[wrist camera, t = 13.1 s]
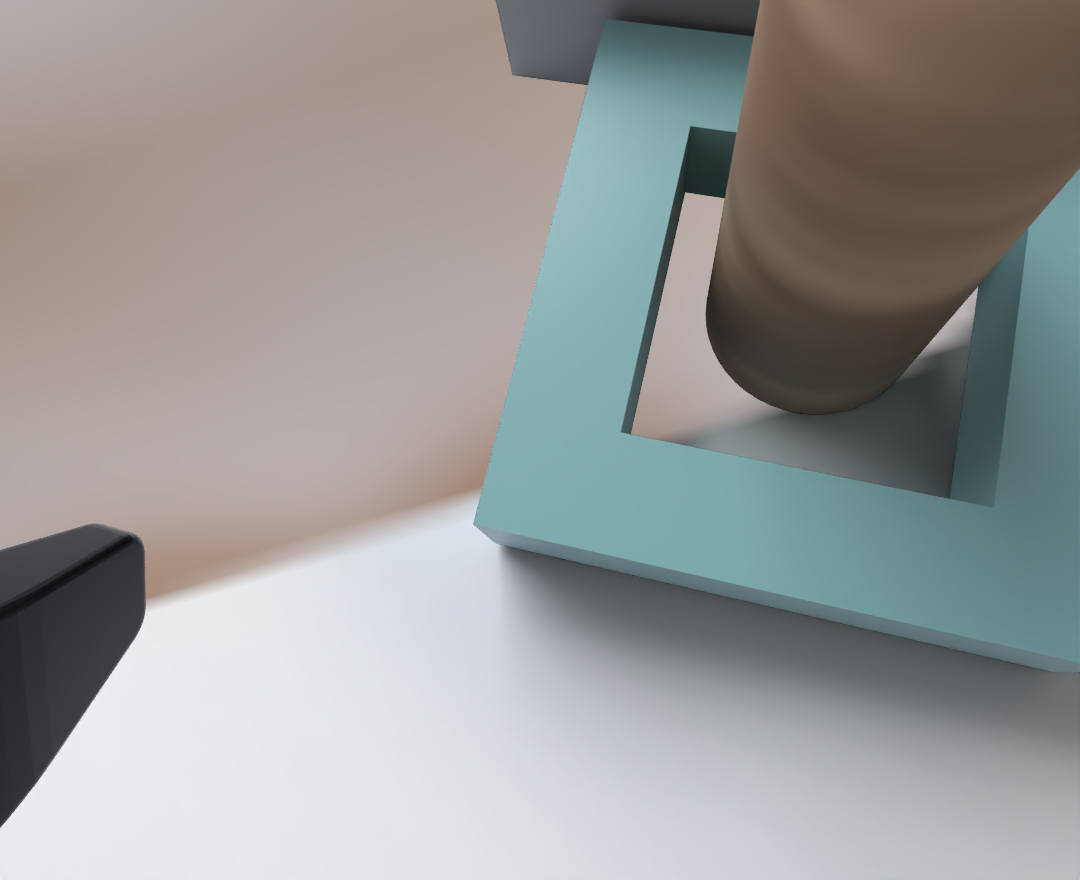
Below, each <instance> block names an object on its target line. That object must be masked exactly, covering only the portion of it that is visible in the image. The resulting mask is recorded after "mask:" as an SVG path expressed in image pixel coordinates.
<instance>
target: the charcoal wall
mask: <svg viewBox="0 0 1080 880" xmlns="http://www.w3.org/2000/svg"><path fill="white" fill-rule="evenodd" d="M496 3H497V8H498V12H499V16H500V21H501V25H502V30H503V34H504V39H505V43H506V48H507V52H508V57H509V61H510V65H511V69H512V74H513V75H516V76H523V77H531V78H539V79H546V80H553V81H561V82H569V83H576V84H584V85H588V83H589V79H590V75H591V71H592V68H593V64H594V60H595V56H596V52H597V48H598V45H599V41H600V37H601V33H602V29H603V25H604V22H605V19H610V20H618V21H627V22H635V23H644V24H652V25H660V26H669V27H677V28H686V29H694V30H703V31H711V32H719V33H728V34H736V35H745V36H753V37H754V33H755V27H756V21H757V16H758V10H759V4H760V0H496Z"/></svg>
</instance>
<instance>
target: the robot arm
mask: <svg viewBox="0 0 1080 880" xmlns="http://www.w3.org/2000/svg"><path fill="white" fill-rule="evenodd" d="M145 608H146V593H145V550H144V545H143V543H142V540H141V539H140V538H139V537H138V536H137V535H135V534H133V533H130V532H126V531H123V530H120V529H117V528H113V527H110V526H106V525H102V524H90V525H85V526H82V527H78V528H75V529H71V530H68V531H65V532H61V533H58V534H54V535H51V536H47V537H44V538H40V539H37V540H34V541H30V542H27V543H24V544H20V545H17V546H13V547H10V548H6V549H3V550H0V828H1V826H2V825H3V824H4V823H5V822H6V820H7V819H8V818H9V817H10V816H11V814H12V813H13V812H14V811H15V809H16V808H17V807H18V806H19V804H20V803H21V802H22V801H23V799H24V798H25V797H26V796H27V794H28V793H29V792H30V791H31V789H32V788H33V787H34V786H35V784H36V783H37V781H38V780H39V779H40V777H41V776H42V774H43V773H44V772H45V770H46V769H47V767H48V766H49V765H50V763H51V762H52V760H53V759H54V758H55V756H56V755H57V753H58V752H59V750H60V749H61V747H62V746H63V744H64V743H65V741H66V740H67V738H68V737H69V735H70V734H71V732H72V731H73V729H74V728H75V726H76V725H77V723H78V722H79V720H80V719H81V718H82V716H83V715H84V713H85V712H86V710H87V709H88V707H89V706H90V704H91V703H92V701H93V700H94V698H95V697H96V695H97V694H98V692H99V691H100V689H101V688H102V686H103V685H104V683H105V682H106V680H107V679H108V677H109V676H110V674H111V673H112V672H113V670H114V669H115V667H116V666H117V664H118V663H119V661H120V660H121V658H122V657H123V655H124V654H125V652H126V651H127V649H128V648H129V646H130V645H131V643H132V642H133V640H134V639H135V637H136V636H137V634H138V632H139V630H140V628H141V625H142V623H143V620H144V615H145Z"/></svg>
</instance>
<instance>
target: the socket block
mask: <svg viewBox="0 0 1080 880" xmlns="http://www.w3.org/2000/svg"><path fill="white" fill-rule="evenodd" d="M753 38H754V37H753V36H745V35H736V34H728V33H719V32H711V31H703V30H694V29H686V28H677V27H669V26H660V25H652V24H644V23H635V22H627V21H618V20H610V19H605V22H604V25H603V29H602V33H601V37H600V41H599V45H598V48H597V52H596V56H595V60H594V64H593V68H592V71H591V75H590V79H589V83H588V87H587V91H586V94H585V98H584V102H583V106H582V110H581V114H580V118H579V122H578V125H577V129H576V133H575V136H574V140H573V144H572V148H571V152H570V156H569V159H568V163H567V167H566V171H565V175H564V178H563V183H562V186H561V190H560V194H559V198H558V202H557V205H556V209H555V213H554V217H553V221H552V224H551V228H550V232H549V236H548V240H547V244H546V247H545V251H544V255H543V259H542V263H541V267H540V270H539V274H538V278H537V282H536V286H535V290H534V293H533V297H532V301H531V305H530V308H529V313H528V316H527V321H526V324H525V328H524V332H523V335H522V339H521V343H520V347H519V351H518V354H517V358H516V362H515V366H514V370H513V374H512V377H511V381H510V385H509V389H508V393H507V397H506V400H505V404H504V408H503V412H502V416H501V420H500V423H499V427H498V431H497V435H496V439H495V442H494V446H493V450H492V454H491V458H490V461H489V466H488V469H487V473H486V477H485V481H484V484H483V488H482V492H481V496H480V500H479V504H478V507H477V511H476V515H475V519H474V523H473V525H474V526H476V527H477V528H478V529H479V530H480V531H482V532H483V533H484V534H485V535H486V536H488V537H489V538H490V539H491V540H492V541H494V542H495V543H496V544H501V545H505V546H509V547H514V548H518V549H522V550H527V551H531V552H535V553H540V554H544V555H548V556H553V557H557V558H561V559H566V560H570V561H574V562H578V563H583V564H587V565H591V566H596V567H600V568H604V569H609V570H613V571H617V572H622V573H626V574H630V575H635V576H639V577H643V578H648V579H652V580H656V581H661V582H665V583H669V584H674V585H678V586H682V587H687V588H691V589H695V590H700V591H704V592H708V593H713V594H717V595H721V596H726V597H730V598H734V599H739V600H743V601H747V602H752V603H756V604H760V605H765V606H769V607H773V608H778V609H782V610H786V611H791V612H795V613H799V614H804V615H808V616H812V617H817V618H821V619H825V620H830V621H834V622H838V623H843V624H847V625H851V626H856V627H860V628H864V629H869V630H873V631H877V632H882V633H886V634H890V635H895V636H899V637H903V638H908V639H912V640H916V641H921V642H925V643H929V644H934V645H938V646H942V647H947V648H951V649H955V650H960V651H964V652H968V653H973V654H977V655H981V656H986V657H990V658H994V659H999V660H1003V661H1007V662H1012V663H1016V664H1020V665H1025V666H1029V667H1033V668H1038V669H1042V670H1046V671H1051V672H1062V673H1080V169H1079V170H1078V171H1077V172H1076V173H1075V175H1074V176H1073V177H1072V178H1071V179H1070V180H1069V181H1068V183H1067V184H1066V185H1065V186H1064V187H1063V188H1062V190H1061V191H1060V192H1059V193H1058V194H1057V195H1056V197H1055V198H1054V199H1053V200H1052V201H1051V202H1050V203H1049V205H1048V206H1047V207H1046V208H1045V209H1044V210H1043V212H1042V213H1041V214H1040V215H1039V216H1038V217H1037V219H1036V220H1035V221H1034V222H1033V223H1032V224H1031V225H1030V227H1029V228H1028V229H1027V230H1026V231H1025V232H1024V234H1023V235H1022V236H1021V237H1020V238H1019V239H1018V241H1017V242H1016V243H1015V244H1014V245H1013V246H1012V247H1011V249H1010V250H1009V251H1008V252H1007V253H1006V254H1005V256H1004V257H1003V258H1002V259H1001V260H1000V261H999V263H998V264H997V265H996V266H995V267H994V268H993V269H992V271H991V272H990V273H989V274H988V275H987V276H986V278H985V279H984V280H983V281H982V282H981V283H980V285H979V287H978V294H977V301H976V309H975V316H974V323H973V331H972V338H971V346H970V353H969V360H968V368H967V375H966V382H965V390H964V397H963V405H962V412H961V419H960V427H959V434H958V441H957V449H956V456H955V463H954V471H953V478H952V486H951V493H950V499H948V498H943V497H938V496H933V495H928V494H923V493H918V492H913V491H908V490H903V489H898V488H893V487H888V486H883V485H878V484H874V483H869V482H864V481H859V480H854V479H849V478H844V477H839V476H834V475H829V474H824V473H819V472H814V471H809V470H804V469H799V468H794V467H790V466H785V465H780V464H775V463H770V462H765V461H760V460H755V459H750V458H745V457H740V456H735V455H730V454H725V453H720V452H715V451H710V450H706V449H701V448H696V447H691V446H686V445H681V444H676V443H671V442H666V441H661V440H656V439H651V438H646V437H641V436H636V435H631V430H632V425H633V421H634V417H635V412H636V408H637V403H638V399H639V395H640V390H641V386H642V381H643V377H644V372H645V368H646V363H647V359H648V355H649V350H650V346H651V341H652V336H653V332H654V328H655V324H656V319H657V315H658V310H659V306H660V301H661V297H662V292H663V288H664V283H665V279H666V275H667V270H668V266H669V261H670V257H671V252H672V248H673V244H674V239H675V235H676V230H677V226H678V221H679V216H680V212H681V208H682V204H683V199H684V195H685V192H687V193H694V194H700V195H707V196H713V197H720V198H725V196H726V190H727V184H728V179H729V173H730V167H731V162H732V156H733V151H734V145H735V139H736V134H737V128H738V123H739V117H740V111H741V106H742V100H743V94H744V89H745V83H746V78H747V72H748V66H749V61H750V55H751V49H752V44H753Z"/></svg>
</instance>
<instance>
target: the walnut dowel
mask: <svg viewBox="0 0 1080 880" xmlns="http://www.w3.org/2000/svg"><path fill="white" fill-rule="evenodd" d="M1079 169H1080V0H760V4H759V10H758V16H757V21H756V27H755V33H754V38H753V44H752V49H751V55H750V61H749V66H748V72H747V78H746V83H745V89H744V94H743V100H742V106H741V111H740V117H739V123H738V128H737V134H736V139H735V145H734V151H733V156H732V162H731V167H730V173H729V179H728V184H727V190H726V196H725V201H724V207H723V213H722V218H721V224H720V230H719V235H718V241H717V247H716V252H715V257H714V263H713V269H712V274H711V280H710V286H709V291H708V297H707V304H706V326H707V332H708V336H709V340H710V343H711V345H712V349H713V351H714V353H715V355H716V357H717V359H718V361H719V362H720V364H721V365H722V367H723V368H724V370H725V371H726V372H727V374H728V375H729V376H730V377H731V378H732V379H733V380H734V381H735V382H736V383H737V384H738V385H739V386H740V387H742V388H743V389H744V390H745V391H747V392H748V393H749V394H751V395H753V396H754V397H755V398H757V399H759V400H761V401H763V402H765V403H767V404H769V405H771V406H774V407H777V408H780V409H783V410H787V411H791V412H796V413H804V414H830V413H836V412H842V411H845V410H849V409H852V408H856V407H858V406H860V405H863V404H865V403H867V402H869V401H871V400H873V399H874V398H876V397H878V396H879V395H881V394H882V393H883V392H884V391H886V390H887V389H888V388H889V387H891V386H892V385H893V383H894V382H895V381H896V380H897V379H898V378H899V377H900V376H901V375H902V374H903V373H904V371H905V370H906V369H907V368H908V367H909V366H910V364H911V363H912V362H913V361H914V360H915V359H916V357H917V356H918V355H919V354H920V353H921V352H922V351H923V349H924V348H925V347H926V346H927V345H928V344H929V342H930V341H931V340H932V339H933V338H934V337H935V335H936V334H937V333H938V332H939V331H940V330H941V329H942V327H943V326H944V325H945V324H946V323H947V322H948V320H949V319H950V318H951V317H952V316H953V315H954V313H955V312H956V311H957V310H958V309H959V307H961V305H962V304H963V303H964V302H965V301H966V300H967V298H968V297H969V296H970V295H971V294H972V293H973V291H974V290H975V289H976V288H977V287H978V286H979V285H980V283H981V282H982V281H983V280H984V279H985V278H986V276H987V275H988V274H989V273H990V272H991V271H992V269H993V268H994V267H995V266H996V265H997V264H998V263H999V261H1000V260H1001V259H1002V258H1003V257H1004V256H1005V254H1006V253H1007V252H1008V251H1009V250H1010V249H1011V247H1012V246H1013V245H1014V244H1015V243H1016V242H1017V241H1018V239H1019V238H1020V237H1021V236H1022V235H1023V234H1024V232H1025V231H1026V230H1027V229H1028V228H1029V227H1030V225H1031V224H1032V223H1033V222H1034V221H1035V220H1036V219H1037V217H1038V216H1039V215H1040V214H1041V213H1042V212H1043V210H1044V209H1045V208H1046V207H1047V206H1048V205H1049V203H1050V202H1051V201H1052V200H1053V199H1054V198H1055V197H1056V195H1057V194H1058V193H1059V192H1060V191H1061V190H1062V188H1063V187H1064V186H1065V185H1066V184H1067V183H1068V181H1069V180H1070V179H1071V178H1072V177H1073V176H1074V175H1075V173H1076V172H1077V171H1078V170H1079Z"/></svg>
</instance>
